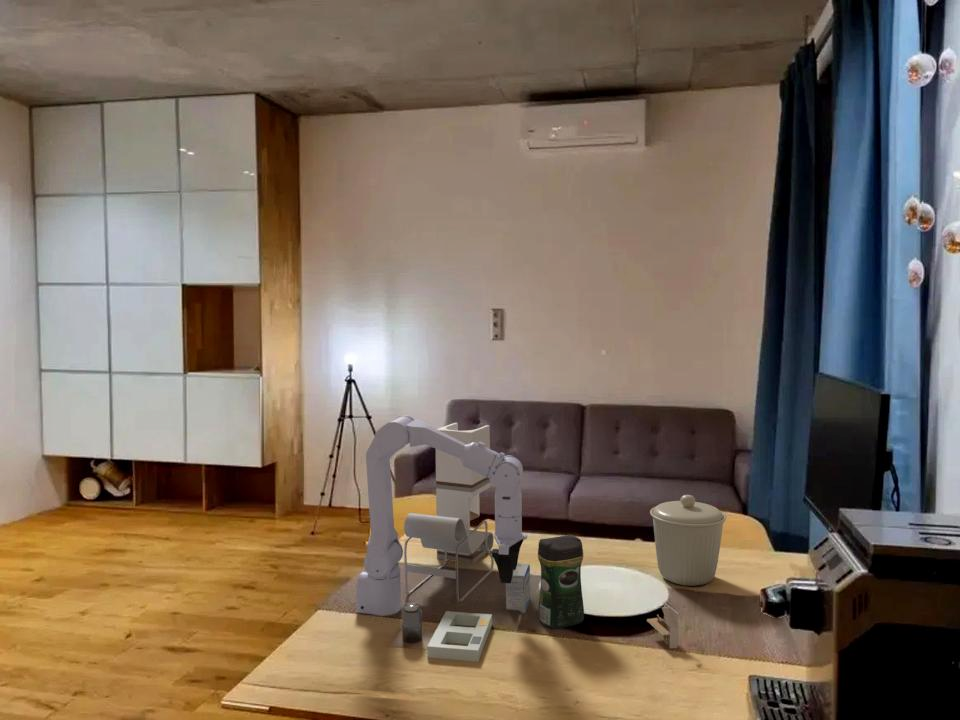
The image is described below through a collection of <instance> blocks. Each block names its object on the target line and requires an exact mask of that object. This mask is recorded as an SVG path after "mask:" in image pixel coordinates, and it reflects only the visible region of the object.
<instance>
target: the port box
mask: <svg viewBox="0 0 960 720" xmlns="http://www.w3.org/2000/svg"><path fill="white" fill-rule="evenodd" d="M492 626H493V614H490V613H474V612H462V611H451V610H450V611H448V610H447V611H445V612H444V614H443V616H442V618H441V620H440V622H439V623H438V625H437V627H436V629H435V630H434V631H435V633H434V635H433V637H432V638H431V640H430V642H429V644H428V646H427V649H426V651H427V652H426V653H427V655H426V656H427V658H429V659H430V658H431V659H441V660H452V661H454V660H455V661H466V662H477V663H479V661H480V659H481V656H482V653H483V651H484V648H485V645H486V642H487V639H488V637H489V635H490V631H491V629H492ZM447 643H452V644H447ZM455 644H456V645H455ZM457 644H463V645H457ZM464 644H465V645H464Z"/></svg>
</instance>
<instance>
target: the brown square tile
mask: <svg viewBox="0 0 960 720" xmlns="http://www.w3.org/2000/svg"><path fill="white" fill-rule="evenodd" d="M435 631H436V630H426V629H424V630H423V629H422V640H421V641H419V642H417V643H406V642H404V641H403V640H402V627H401V628H398V629H397V630H396V632H395V634H394V635H393V637H392V639H391V640H390V642H389V643H388V645H387V647H390V648H399V649H400V648H402V649H414V650H416V649H417V650H424V651H425V650H426V651H427V646H428V644H429V642H430V640H431V638H432V637H433V635H434V633H435Z"/></svg>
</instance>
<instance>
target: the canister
mask: <svg viewBox="0 0 960 720" xmlns="http://www.w3.org/2000/svg"><path fill="white" fill-rule="evenodd" d="M649 514H650V516H651V517H652V521H653V522H652V523H653V533H654V535H653V536H654V543H655V553H656V559H657V560H656V561H657V568H658V570H659V574H660V576H662V578H664V579H665V580H666V581H668V582H671V583H674V584H676V585H681V586H688V587H694V586H695V587H696V586H702V585H703V586H704V585H706V584H709V583H710V582H712V581H713V580H714V578H715V575H716V573H717V568H718V562H719V558H720V557H719V555H720V550H721V543H722V534H723V529H724V528H723V527H724V523H725V522H726V520H727V515H726V514H725V512H724V511H722V510H720V509H718V508H717V507H715V506H713V505H711V504H708V503H705V502H698V501H696V498H695V497H694V496H693V495H690V494H684V495H682V496H681V497H680V500H673V501H665V502H662V503H659V504H658V505H656V506H654V507H652V508H650V511H649Z"/></svg>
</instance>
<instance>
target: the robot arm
mask: <svg viewBox="0 0 960 720" xmlns="http://www.w3.org/2000/svg"><path fill="white" fill-rule="evenodd" d="M437 429H438V428H436V427H433V426H432V425H430V424H428V423H426V422H424V421H423V420H422V419H417V418H416V419H415V418H413V417H412V416H410V415H407V414H404V415H399V416H397V417H396V418H395V419H393V420H392V421H389V422H386V423H385V424H384V425H382V426H381V427H380V428H378V430H376V431H375V434H374V435H375V436H374V437H373V439H372V441H371V443H370V445H369V446H368V448H367V451H366V453H365V463H366V465H365V466H366V479H367V493H368V494H367V495H368V510H369V512H368V513H369V524H370V526H369V527H370V534H369V538H368V541H367V544H366V555H365V557H364V560H363V566H364V570H365V571H361V572H360V573H359V574H358V577H357V581H356V588H355V589H356V613H359V614H367V615H368V614H370V615H373V616H392V615H395V614H397V613H399V612H400V611H402V594H401V591H402V589H401V588H402V587H401V586H402V585H401V584H402V582H401V568H400V565H399V562H400V561H401V560H402V558H403V557H404V548H403V546H402V543H401V542H400V540H399V533H398V531H397V530H396V528H395V519H394V518H395V517H394V504H393V487H392V472H391V471H392V470H391V459H392V458H393V456H395V455H396V453H397V452H399V451H400V450H402V449H404V448H405V447H406V446H407V445H409V448H413V447H418V446H423V445H424V446H425V445H426V446H427V447H428V446H429V447H431V448H434V449H435V450H436V449H438V450H441V451H443V452H445V453H448V454H450V455H453V456H455V457H458V458H459V459H460V460H461V463H462V465H463V466H464V467H466V468H468V469H470V470H472V471H474V472H477V473H479V474H481V475H483V476H485V477H487V478H490V479H492V482H493V483H494V485H495V492H494V533H493V537H494V541H495V542H496V543H497V545H498V548H492V549H491V555H492V557H493V560H494V563H495V565H496V567H497V571H498V577H499V581H500V583H501V584H506V583H511V580H512V576H513V570H516V567H517V563H518V561H519V555H520V551H521V546H522V544H523V543H524V541H525V540H527V539H528V533H524V532H523V531H522V530H523V529H522V528H523V526H522V525H523V522H522V520H523V518H522V517H523V516H522V512H523V511H522V510H523V509H522V508H523V505H522V504H523V502H522V501H523V499H522V497H523V496H522V495H523V494H522V491H521V490H522V482H521V478H522V475H523V472H524V468H523V464H522V462H521V461H520V460H519V459H518V458H517V457H515V456H514V455H512V454H511V455H510V454H509V455H506V453H504V452H502V451H501V452H500V453H499V452H497V451H495V450H492V449H491V448H490V449H489V448H486V447H484V446H485V443H482V442H479V443H476V442H472V443H470V444H464V443H462V442H461V441H459V440H457V439H455V438H453V437H451V436H449V435H447V434H445V433H443V432H441V431H439V430H437Z"/></svg>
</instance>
